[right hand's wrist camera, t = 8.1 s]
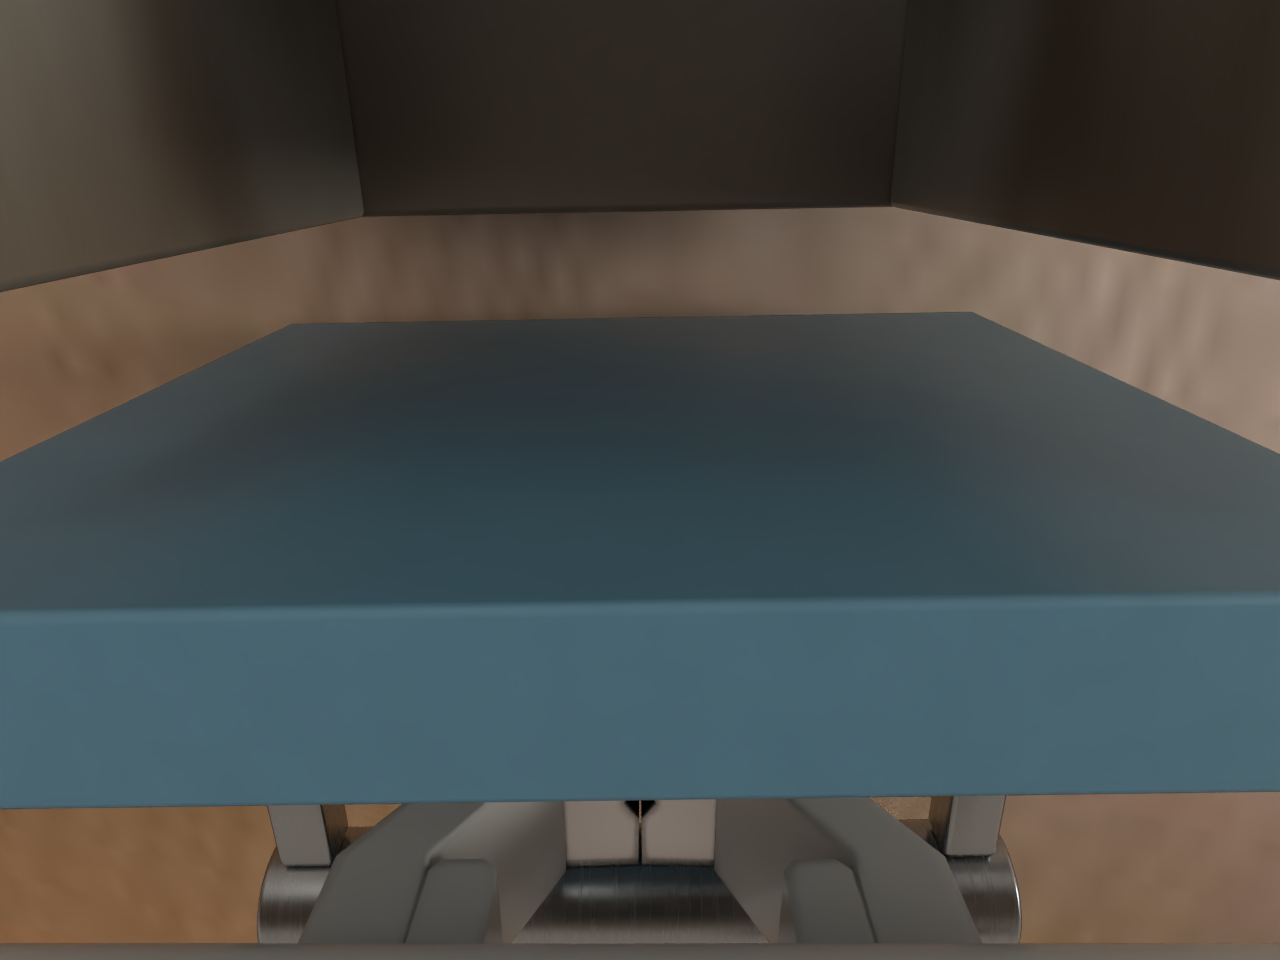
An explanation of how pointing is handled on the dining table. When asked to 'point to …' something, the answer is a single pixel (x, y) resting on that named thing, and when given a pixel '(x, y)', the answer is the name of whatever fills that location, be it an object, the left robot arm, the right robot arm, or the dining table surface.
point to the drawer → (637, 435)
